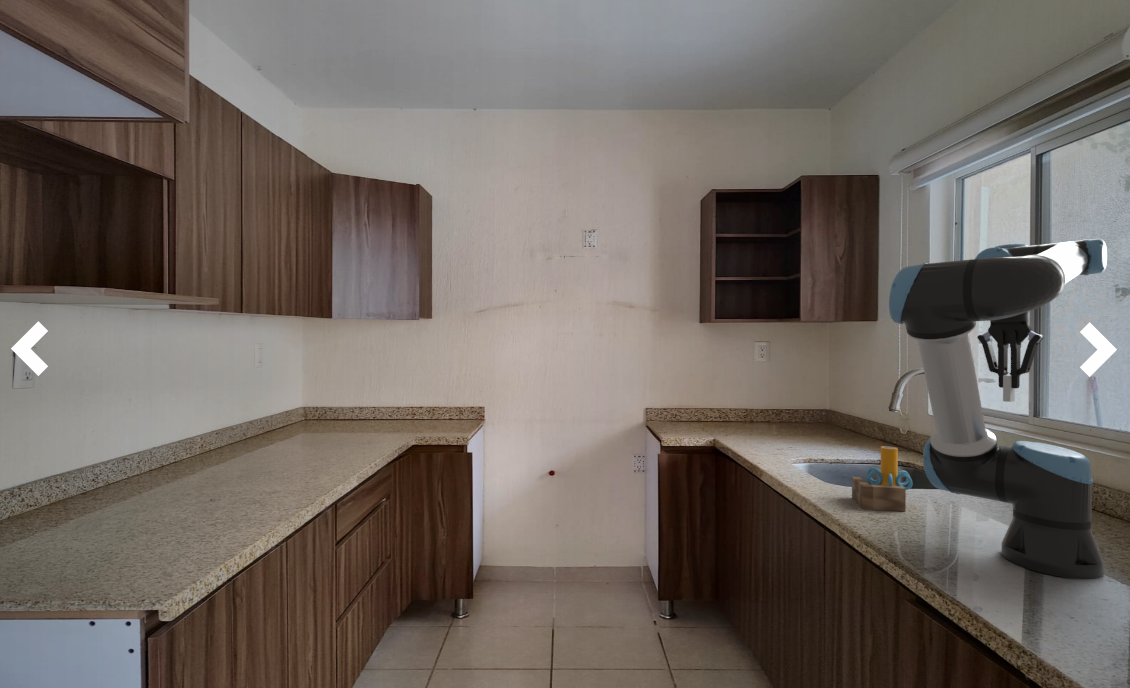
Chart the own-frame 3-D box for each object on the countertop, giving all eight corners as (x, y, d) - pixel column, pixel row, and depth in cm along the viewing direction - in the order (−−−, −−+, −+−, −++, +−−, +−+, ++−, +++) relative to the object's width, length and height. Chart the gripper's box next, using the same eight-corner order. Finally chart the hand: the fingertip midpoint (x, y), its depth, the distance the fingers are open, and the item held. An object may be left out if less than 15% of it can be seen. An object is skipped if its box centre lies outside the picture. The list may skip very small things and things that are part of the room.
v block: (854, 497, 151) (854, 476, 151) (908, 510, 139) (908, 487, 139) (837, 502, 147) (837, 480, 147) (891, 516, 135) (891, 492, 135)
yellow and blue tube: (866, 493, 155) (866, 442, 155) (908, 498, 150) (908, 445, 150) (868, 505, 144) (868, 449, 144) (913, 511, 139) (914, 453, 139)
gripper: (1048, 306, 130) (1047, 402, 130) (984, 309, 141) (983, 398, 141) (1037, 305, 126) (1036, 404, 126) (972, 308, 137) (971, 399, 137)
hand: (1008, 401), depth 134 cm, fingers closed
